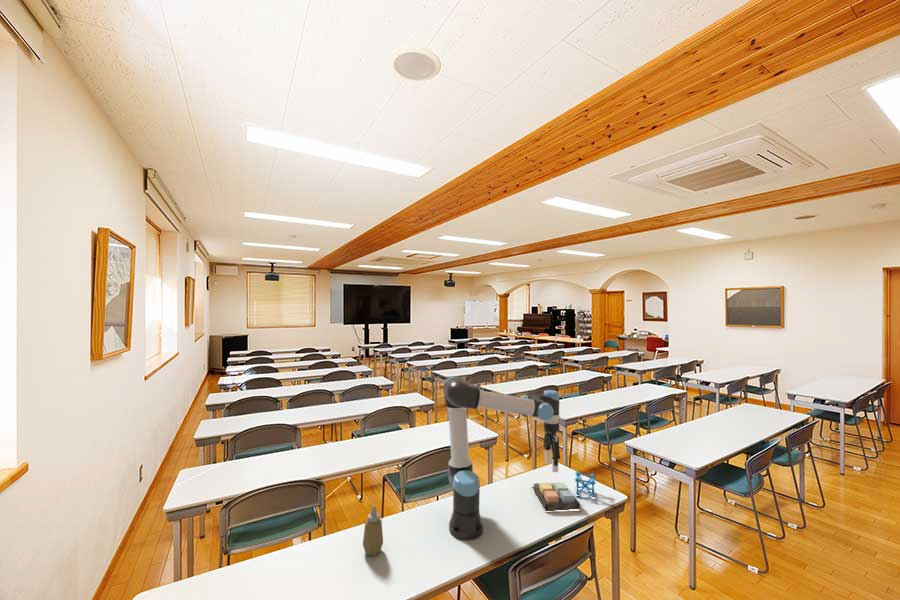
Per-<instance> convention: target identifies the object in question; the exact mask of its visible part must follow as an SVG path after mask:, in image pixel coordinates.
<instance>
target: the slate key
mask: <svg viewBox="0 0 900 600" xmlns="http://www.w3.org/2000/svg"><path fill="white" fill-rule="evenodd" d="M568 490H569V491H560V498H561V499H562V501H563V502H575V498H576V496H575V493H573V492H572V490H570V489H568Z"/></svg>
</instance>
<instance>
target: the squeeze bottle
mask: <svg viewBox="0 0 900 600" xmlns="http://www.w3.org/2000/svg"><path fill="white" fill-rule="evenodd" d="M363 531H364V532H363V539H362V540H363V541H362V546H363V549H364V553H365V555H367V556H369V557H374V556H377V555H378V554H380V553H381V550H382V548H383V545H384V535H383V523H382V519H381V518H380V513H379V512H377V508H376V505H375V504H373V505H372V507H371V511H370V513H368V514H367V519H366V520H365V524H364V530H363Z"/></svg>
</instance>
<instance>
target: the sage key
mask: <svg viewBox="0 0 900 600" xmlns="http://www.w3.org/2000/svg"><path fill="white" fill-rule="evenodd" d="M553 483H554V490H555V491H556V493H557V494H560V491H568V490H569V487H568V486H567V484H566V483H564V482H553Z"/></svg>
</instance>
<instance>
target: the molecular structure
mask: <svg viewBox="0 0 900 600" xmlns="http://www.w3.org/2000/svg"><path fill="white" fill-rule="evenodd" d="M581 476H583V477H590V478H589V479H588V480H584V479H582V477H581ZM595 478H596V475H595V474H594V473H591V474H585V473H580V472H579V471H576V472H575V479H574V481H575V482H576V486H575V488H576V487H577V490H576V492H575V493H576V494H577V495H579V493H580V494H581V493H582V491H584V490H583V489H587V490H588V491H587V492H588V493H589V496H592V497H595V498H596V495H595V493H594V489H595V486H594V485H596V480H595ZM580 484H582V485H580ZM590 485H591V487H589V486H590ZM578 488H582V489H580V490H579V491H578ZM589 490H592V493H591V491H589Z"/></svg>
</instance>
